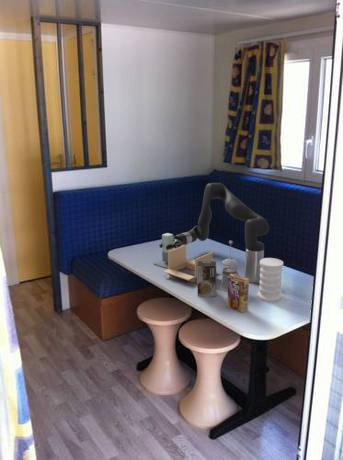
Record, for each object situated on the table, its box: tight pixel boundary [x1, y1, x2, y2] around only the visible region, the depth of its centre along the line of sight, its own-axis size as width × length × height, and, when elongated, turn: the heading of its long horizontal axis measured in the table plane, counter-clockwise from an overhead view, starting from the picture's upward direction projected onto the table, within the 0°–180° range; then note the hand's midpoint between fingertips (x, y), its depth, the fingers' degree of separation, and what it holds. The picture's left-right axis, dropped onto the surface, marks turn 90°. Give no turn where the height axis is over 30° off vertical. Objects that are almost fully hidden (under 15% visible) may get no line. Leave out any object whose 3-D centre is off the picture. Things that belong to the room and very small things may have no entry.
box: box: [161, 232, 174, 263], centre depth 255 cm, size 4×4×16 cm
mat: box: [152, 259, 168, 270], centre depth 258 cm, size 12×12×1 cm
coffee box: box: [196, 260, 217, 298], centre depth 216 cm, size 9×6×16 cm
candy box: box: [226, 274, 250, 313], centre depth 201 cm, size 9×4×15 cm, turn 47°
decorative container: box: [256, 257, 284, 303], centre depth 212 cm, size 12×12×18 cm
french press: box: [219, 240, 239, 293], centre depth 221 cm, size 10×12×25 cm
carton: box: [162, 245, 218, 284], centre depth 240 cm, size 19×24×13 cm
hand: (163, 246), depth 252 cm, fingers closed on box, 4 cm apart
